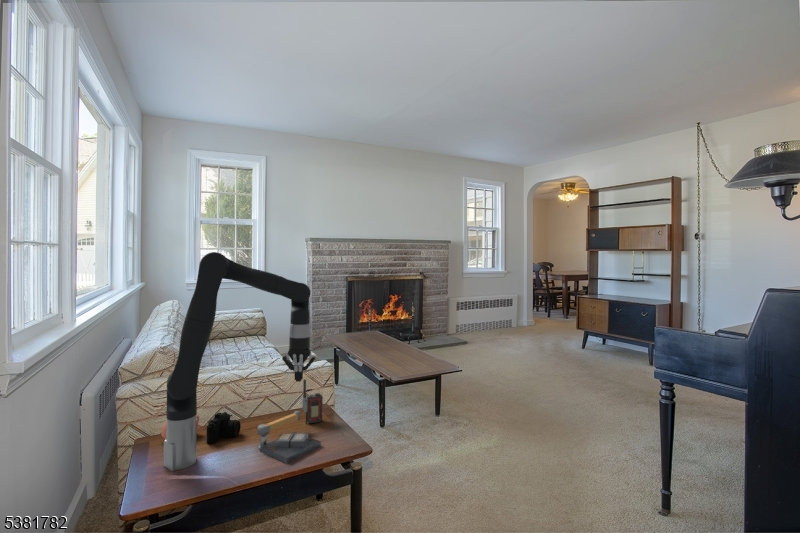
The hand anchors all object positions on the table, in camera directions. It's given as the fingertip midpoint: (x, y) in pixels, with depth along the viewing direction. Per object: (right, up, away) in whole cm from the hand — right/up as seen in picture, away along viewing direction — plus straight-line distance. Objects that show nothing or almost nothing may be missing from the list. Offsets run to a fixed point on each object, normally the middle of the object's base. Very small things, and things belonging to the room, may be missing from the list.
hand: (298, 381), depth 152 cm
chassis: (-2, -25, -2) cm, 25 cm away
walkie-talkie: (0, -25, +22) cm, 33 cm away
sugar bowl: (-49, -25, +8) cm, 55 cm away
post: (-13, -25, -1) cm, 28 cm away
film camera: (-32, -25, +9) cm, 41 cm away
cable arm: (-9, -19, +6) cm, 22 cm away
